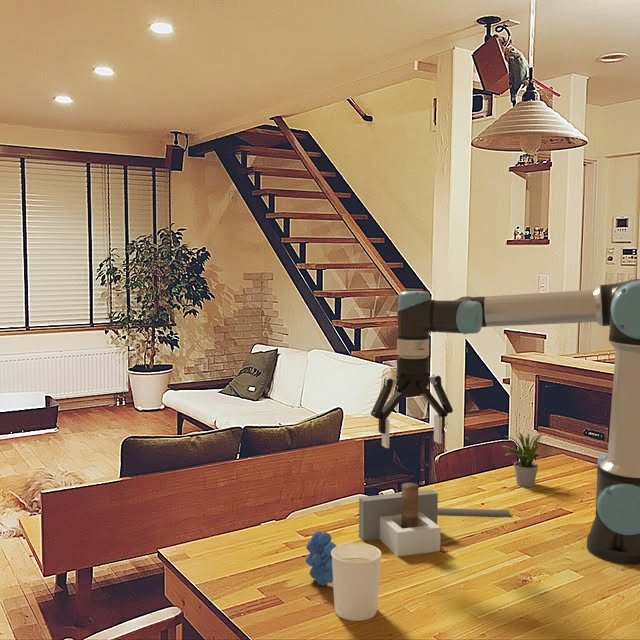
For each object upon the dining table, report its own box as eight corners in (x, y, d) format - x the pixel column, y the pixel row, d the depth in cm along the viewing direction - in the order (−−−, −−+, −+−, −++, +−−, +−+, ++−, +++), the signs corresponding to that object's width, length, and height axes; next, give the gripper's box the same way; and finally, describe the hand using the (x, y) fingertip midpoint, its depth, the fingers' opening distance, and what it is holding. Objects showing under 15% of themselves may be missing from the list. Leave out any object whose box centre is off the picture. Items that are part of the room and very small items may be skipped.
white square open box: (440, 552, 176) (440, 527, 175) (397, 557, 173) (397, 532, 172) (420, 535, 186) (420, 511, 186) (379, 540, 183) (379, 516, 183)
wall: (437, 531, 188) (437, 493, 187) (363, 540, 182) (363, 501, 181) (431, 527, 191) (432, 489, 190) (358, 536, 185) (359, 497, 184)
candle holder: (377, 599, 151) (378, 542, 150) (383, 623, 142) (384, 562, 140) (329, 599, 151) (329, 542, 150) (332, 623, 141) (332, 563, 140)
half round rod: (510, 519, 198) (510, 513, 198) (436, 517, 199) (436, 511, 199) (507, 514, 202) (507, 507, 202) (435, 512, 204) (435, 505, 203)
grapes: (354, 591, 155) (354, 535, 154) (325, 598, 151) (326, 542, 150) (325, 570, 165) (326, 518, 164) (299, 577, 161) (299, 523, 160)
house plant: (521, 473, 237) (522, 423, 236) (559, 484, 227) (561, 431, 225) (493, 482, 228) (494, 430, 227) (531, 493, 218) (533, 439, 216)
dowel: (420, 543, 178) (421, 487, 177) (405, 545, 177) (405, 488, 176) (413, 537, 182) (414, 482, 181) (398, 539, 181) (399, 483, 179)
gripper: (369, 360, 168) (368, 452, 170) (467, 356, 176) (466, 444, 177) (357, 356, 175) (357, 444, 177) (452, 352, 183) (451, 436, 185)
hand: (411, 444), depth 177 cm, fingers open, 13 cm apart
